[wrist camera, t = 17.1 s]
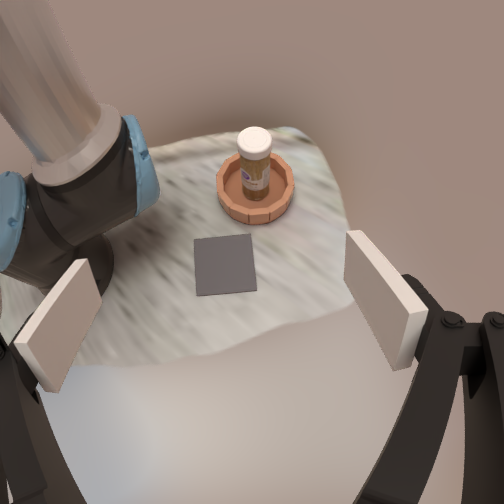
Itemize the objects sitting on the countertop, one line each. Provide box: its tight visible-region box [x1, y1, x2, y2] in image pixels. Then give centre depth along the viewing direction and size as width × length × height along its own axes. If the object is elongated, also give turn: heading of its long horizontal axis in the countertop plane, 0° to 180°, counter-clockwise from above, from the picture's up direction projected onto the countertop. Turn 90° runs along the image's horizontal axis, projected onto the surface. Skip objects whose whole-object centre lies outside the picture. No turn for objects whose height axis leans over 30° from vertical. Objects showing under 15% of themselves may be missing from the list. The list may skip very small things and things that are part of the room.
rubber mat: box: [194, 234, 257, 296], centre depth 48 cm, size 9×9×1 cm
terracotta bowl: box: [216, 152, 294, 225], centre depth 50 cm, size 12×12×4 cm
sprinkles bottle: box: [237, 127, 272, 201], centre depth 45 cm, size 5×5×14 cm
